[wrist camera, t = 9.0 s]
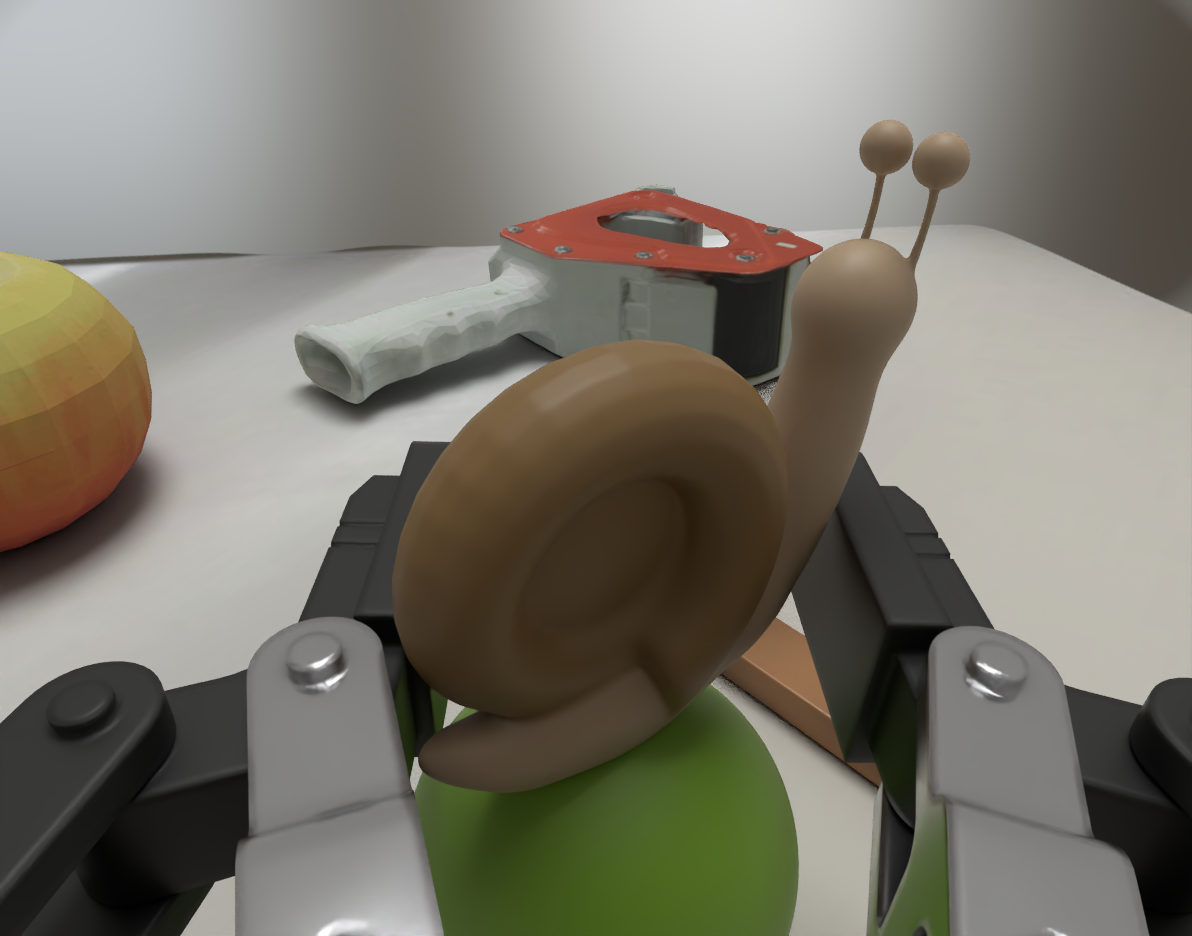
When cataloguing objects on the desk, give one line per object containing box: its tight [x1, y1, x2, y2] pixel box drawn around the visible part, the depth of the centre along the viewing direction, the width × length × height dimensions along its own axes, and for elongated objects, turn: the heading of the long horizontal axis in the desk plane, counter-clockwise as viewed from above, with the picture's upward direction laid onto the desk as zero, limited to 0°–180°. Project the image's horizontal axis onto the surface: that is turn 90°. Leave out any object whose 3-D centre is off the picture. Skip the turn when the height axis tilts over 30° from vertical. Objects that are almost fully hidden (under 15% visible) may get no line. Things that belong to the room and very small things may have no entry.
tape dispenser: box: [294, 185, 823, 404], centre depth 36 cm, size 18×5×20 cm
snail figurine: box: [392, 120, 970, 936], centre depth 10 cm, size 5×6×12 cm
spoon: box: [721, 617, 882, 787], centre depth 19 cm, size 20×5×1 cm, turn 44°
